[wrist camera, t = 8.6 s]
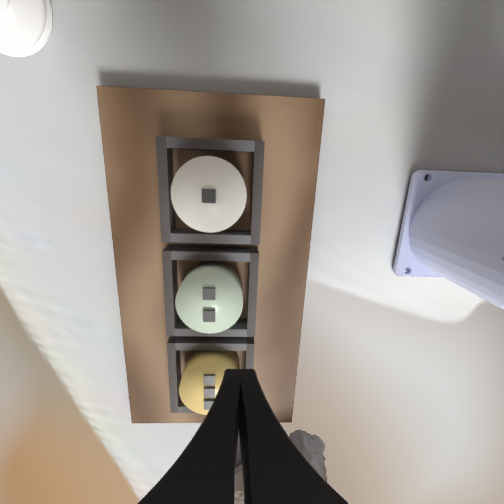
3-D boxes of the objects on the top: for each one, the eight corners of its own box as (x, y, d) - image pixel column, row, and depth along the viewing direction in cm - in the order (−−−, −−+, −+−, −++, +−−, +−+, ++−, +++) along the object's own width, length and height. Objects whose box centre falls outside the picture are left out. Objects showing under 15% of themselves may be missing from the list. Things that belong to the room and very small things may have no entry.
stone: (214, 475, 28) (208, 551, 23) (267, 406, 26) (276, 470, 21) (281, 503, 30) (291, 580, 24) (336, 439, 28) (361, 507, 22)
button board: (320, 102, 19) (333, 92, 16) (289, 412, 26) (294, 438, 24) (103, 90, 18) (82, 77, 15) (135, 413, 25) (124, 440, 23)
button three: (240, 345, 22) (240, 367, 20) (239, 390, 23) (239, 417, 21) (184, 344, 22) (177, 367, 19) (185, 390, 23) (179, 417, 21)
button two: (243, 261, 20) (244, 274, 18) (241, 316, 21) (241, 335, 19) (181, 259, 20) (173, 273, 17) (183, 315, 21) (176, 335, 19)
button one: (246, 158, 18) (248, 157, 16) (244, 225, 19) (245, 234, 17) (177, 155, 18) (168, 154, 15) (180, 223, 19) (171, 232, 17)
